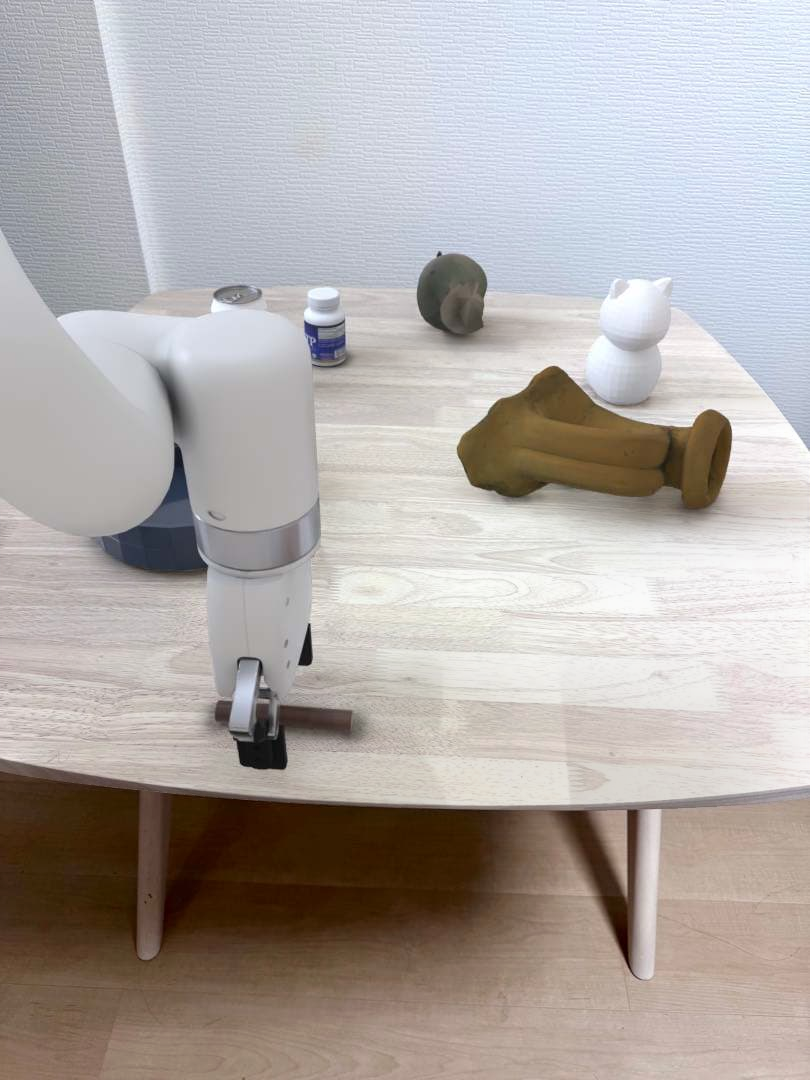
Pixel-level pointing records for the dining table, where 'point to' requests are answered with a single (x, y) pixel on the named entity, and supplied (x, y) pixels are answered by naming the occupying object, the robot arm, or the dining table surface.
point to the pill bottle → (325, 327)
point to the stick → (297, 716)
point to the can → (238, 298)
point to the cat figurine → (630, 340)
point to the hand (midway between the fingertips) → (279, 710)
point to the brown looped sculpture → (591, 447)
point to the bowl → (161, 532)
